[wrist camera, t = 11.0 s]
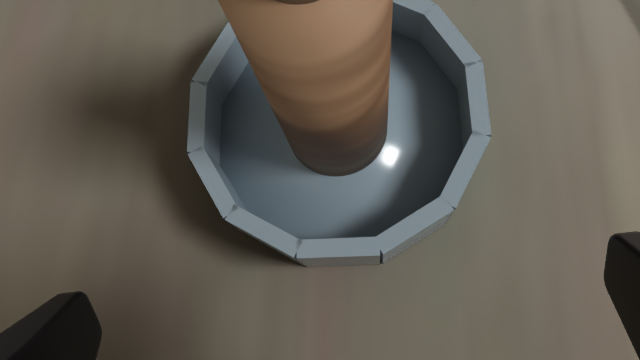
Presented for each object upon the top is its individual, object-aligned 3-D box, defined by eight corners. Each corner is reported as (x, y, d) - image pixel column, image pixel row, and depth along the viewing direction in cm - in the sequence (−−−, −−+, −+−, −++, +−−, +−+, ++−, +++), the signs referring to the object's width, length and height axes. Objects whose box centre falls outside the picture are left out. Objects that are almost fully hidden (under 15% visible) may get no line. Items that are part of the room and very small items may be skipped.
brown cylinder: (365, 191, 22) (350, 43, 10) (272, 155, 23) (163, -16, 11) (402, 101, 23) (425, -125, 11) (311, 70, 24) (248, -168, 12)
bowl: (487, 260, 21) (505, 250, 18) (206, 270, 23) (181, 262, 20) (460, 8, 25) (471, -34, 22) (215, 27, 26) (195, -10, 23)
